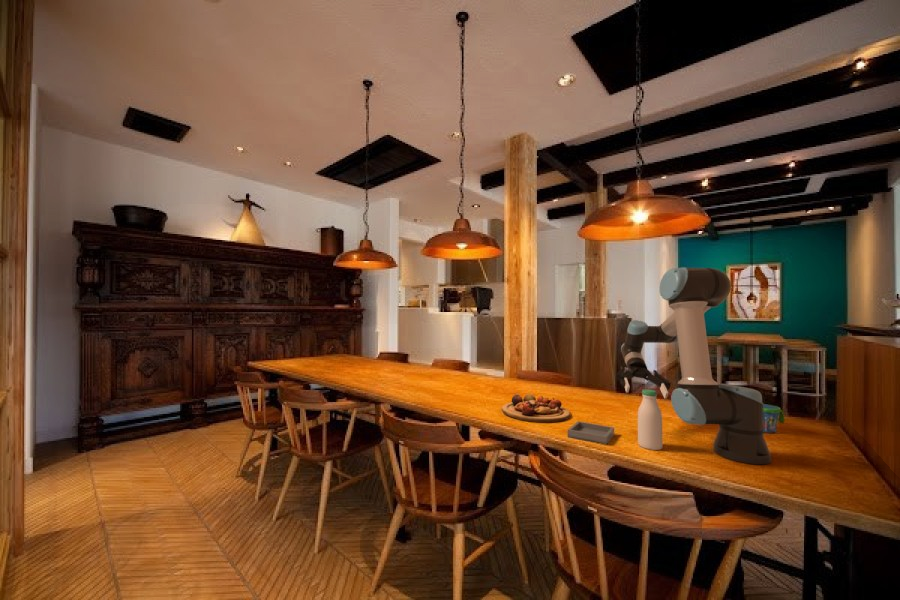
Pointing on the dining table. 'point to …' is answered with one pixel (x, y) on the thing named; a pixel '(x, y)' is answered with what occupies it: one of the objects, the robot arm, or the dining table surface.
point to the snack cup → (771, 418)
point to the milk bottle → (650, 422)
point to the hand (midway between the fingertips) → (647, 392)
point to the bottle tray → (591, 432)
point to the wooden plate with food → (535, 409)
